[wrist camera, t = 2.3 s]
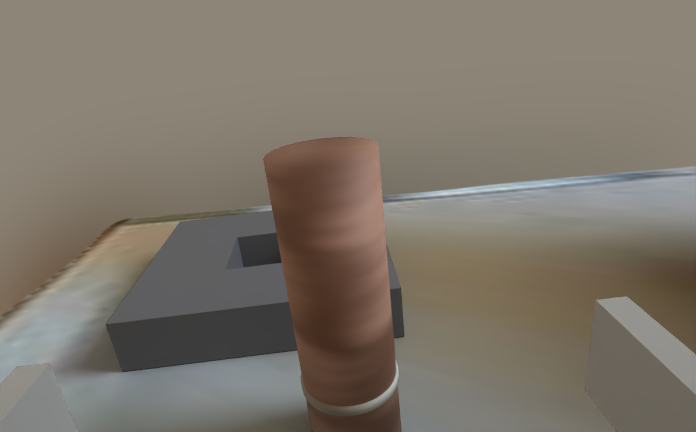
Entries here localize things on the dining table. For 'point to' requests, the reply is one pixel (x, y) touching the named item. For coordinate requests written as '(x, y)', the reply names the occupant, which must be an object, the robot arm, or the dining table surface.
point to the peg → (337, 280)
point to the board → (214, 297)
